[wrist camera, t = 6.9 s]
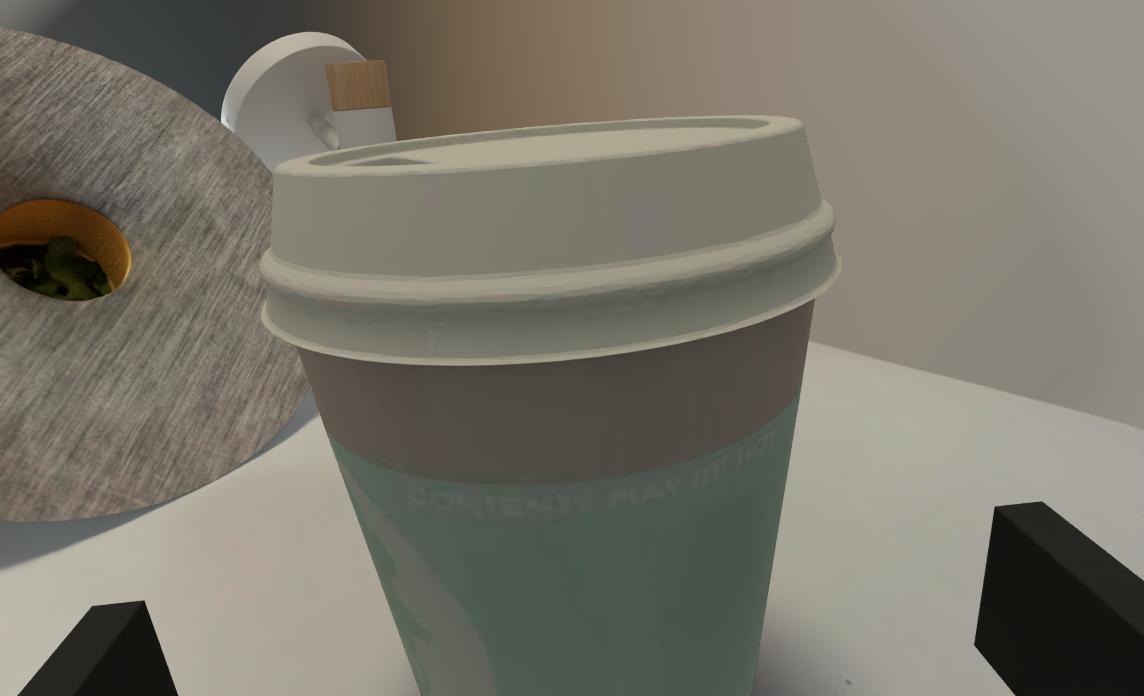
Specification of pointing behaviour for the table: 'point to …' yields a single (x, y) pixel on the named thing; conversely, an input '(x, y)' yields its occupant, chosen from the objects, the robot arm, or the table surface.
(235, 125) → the light fixture
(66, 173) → the grey round piece
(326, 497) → the table surface
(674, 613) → the coffee cup
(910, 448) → the table surface
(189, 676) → the table surface
